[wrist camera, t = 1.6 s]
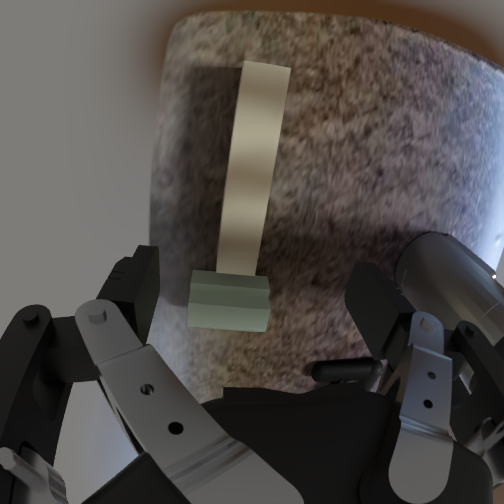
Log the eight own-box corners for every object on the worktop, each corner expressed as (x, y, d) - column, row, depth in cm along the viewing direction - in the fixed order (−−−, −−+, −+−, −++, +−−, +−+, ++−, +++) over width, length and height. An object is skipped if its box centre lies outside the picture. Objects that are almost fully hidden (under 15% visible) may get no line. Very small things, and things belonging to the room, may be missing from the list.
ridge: (192, 269, 31) (188, 294, 27) (267, 276, 32) (272, 301, 28) (191, 306, 33) (187, 332, 29) (259, 312, 34) (263, 338, 30)
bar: (241, 68, 22) (244, 60, 18) (280, 74, 22) (290, 68, 18) (217, 249, 30) (216, 272, 26) (251, 252, 31) (254, 276, 27)
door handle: (270, 435, 46) (350, 430, 47) (292, 371, 37) (394, 367, 38) (269, 420, 49) (347, 417, 50) (289, 353, 40) (387, 352, 41)
